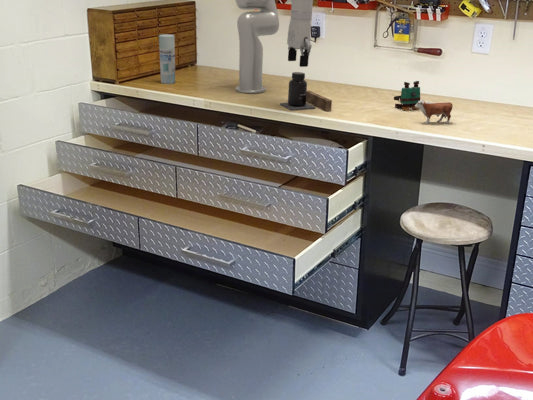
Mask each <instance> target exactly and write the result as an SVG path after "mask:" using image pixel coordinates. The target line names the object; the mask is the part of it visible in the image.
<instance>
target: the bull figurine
mask: <svg viewBox="0 0 533 400" xmlns="http://www.w3.org/2000/svg"><path fill="white" fill-rule="evenodd" d="M415 107H416V108H419V109H418V110H421V113H422V114H423V115H424V116H425V117H426V119H427V120H426V121H425V122H424V125H428V124H429V122H430V120H431V117H433V116H436V117H437V118H439V117H440V118H439V119H438V120H437V122H438V123H439V122H442V121H443V119H447V120H446V121H445V125H446V124H449V123H450V120H451V117H452V114H451V112H452V110H453V103H451V102H433V101H429V100H424V99H421V98H420V101H419V102H418V103H417V104H416V105H415Z"/></svg>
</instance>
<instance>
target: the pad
mask: <svg viewBox="0 0 533 400" xmlns="http://www.w3.org/2000/svg"><path fill="white" fill-rule="evenodd" d="M279 106H281V107H284V108H286V109H287V110H289V111H303V110H304V111H305V110H315V109H316V106H314V105H312V104H310V103H308V102H306V105H305V106H301V107H296V106H290V105H289V104H288V102H280V103H279Z"/></svg>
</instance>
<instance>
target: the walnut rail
mask: <svg viewBox="0 0 533 400" xmlns="http://www.w3.org/2000/svg"><path fill="white" fill-rule="evenodd" d="M306 103H308V104H310V105H312V106H314V107H315V108H318V109H320V110H322V111H325V112H332V105H333V104H332V103H333V100H332V99H329V98H327V97H325V96H322V95H321V94H318V93H316V92H314V91H311V90H307V94H306Z"/></svg>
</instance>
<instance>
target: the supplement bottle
mask: <svg viewBox="0 0 533 400" xmlns="http://www.w3.org/2000/svg"><path fill="white" fill-rule="evenodd" d="M305 78H306V73H305V72H301V71H295V72H292V74H291V79H290V80H289V82H288V90H287V91H288V92H287V93H288V94H287V95H288V97H287V103H288V104H289V105H290V106H296V107H301V106H305V105H306V103H307V102H306V94H307V91H308V90H307V89H308V82H307V81H306V80H305Z"/></svg>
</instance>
